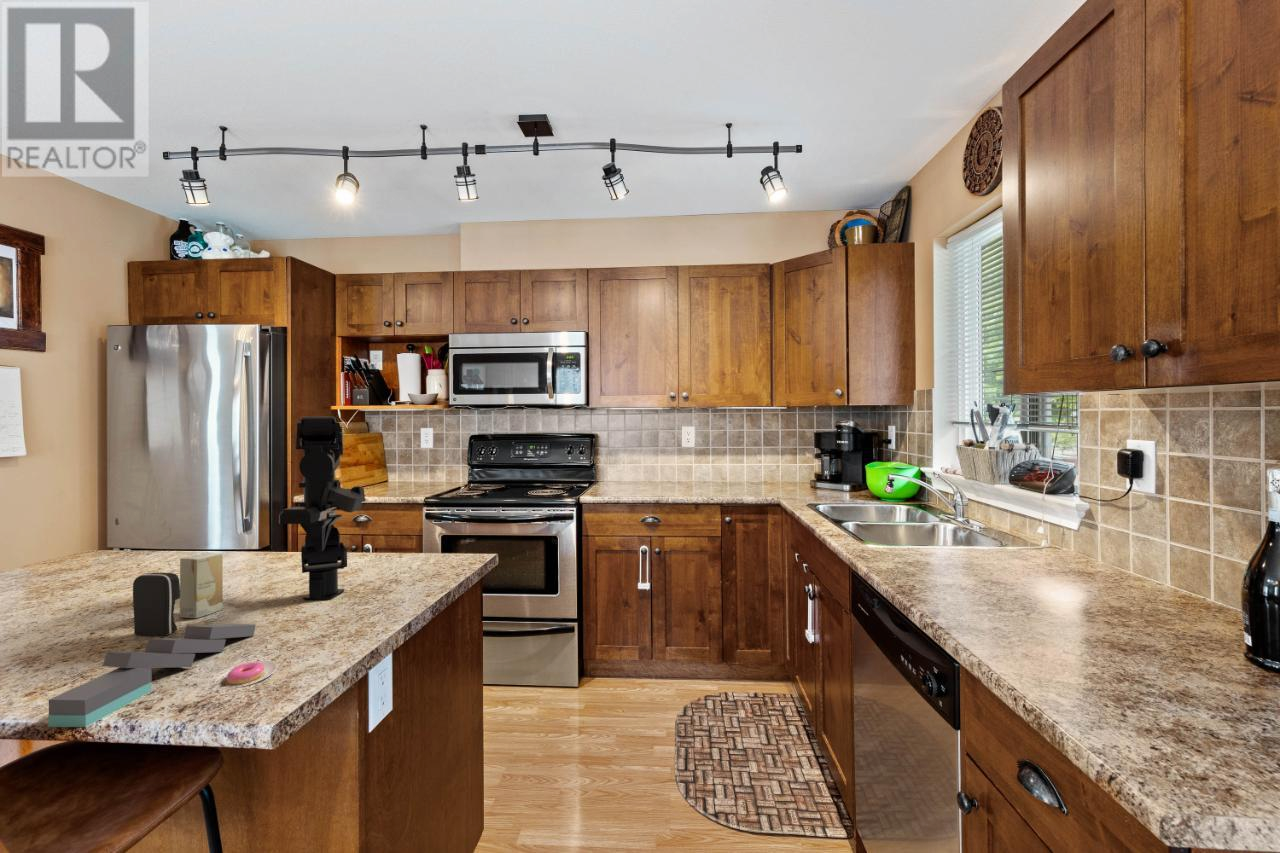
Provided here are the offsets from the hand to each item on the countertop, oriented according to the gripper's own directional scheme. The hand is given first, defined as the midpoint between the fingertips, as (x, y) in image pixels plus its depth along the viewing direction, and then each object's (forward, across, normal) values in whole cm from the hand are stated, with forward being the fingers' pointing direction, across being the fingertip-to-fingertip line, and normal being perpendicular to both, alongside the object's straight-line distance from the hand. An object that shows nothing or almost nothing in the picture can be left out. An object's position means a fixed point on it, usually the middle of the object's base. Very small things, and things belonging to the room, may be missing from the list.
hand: (320, 551), depth 122 cm
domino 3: (+12, -26, +8) cm, 30 cm away
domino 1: (+10, -35, +8) cm, 38 cm away
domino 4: (+12, -20, +8) cm, 25 cm away
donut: (+14, -29, -5) cm, 32 cm away
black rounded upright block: (+13, -11, +25) cm, 30 cm away
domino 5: (+12, -12, +8) cm, 19 cm away
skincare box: (+13, 0, +25) cm, 28 cm away
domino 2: (+12, -35, +8) cm, 38 cm away
